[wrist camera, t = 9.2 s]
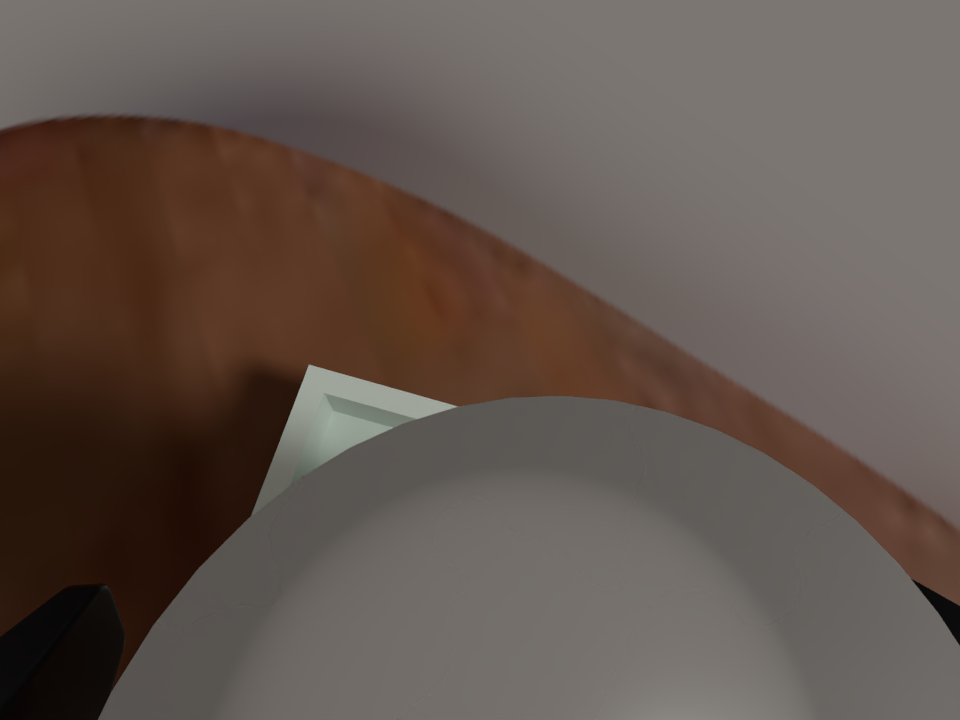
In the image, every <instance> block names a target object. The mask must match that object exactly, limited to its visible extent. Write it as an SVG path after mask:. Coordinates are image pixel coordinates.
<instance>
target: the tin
mask: <svg viewBox="0 0 960 720" xmlns="http://www.w3.org/2000/svg"><path fill="white" fill-rule="evenodd" d="M98 720H960V646H959V644H958V643H957V641H956V640H955V638H954V636H953V635H952V633H951V632H950V630H949V629H948V627H947V626H946V624H945V623H944V621H943V620H942V618H941V616H940V615H939V613H938V612H937V611H936V610H935V608H934V607H933V606H932V605H931V603H930V602H929V601H928V600H927V598H926V597H925V596H924V595H923V593H922V592H921V591H920V590H919V588H918V587H917V586H916V585H915V583H914V582H913V581H912V580H911V579H910V577H909V576H908V575H907V574H906V572H905V571H904V570H903V569H902V567H901V566H900V565H899V564H898V563H897V562H896V561H895V560H894V559H893V558H892V557H891V556H890V554H889V553H888V552H887V551H886V550H885V549H884V548H883V547H882V546H881V545H880V544H879V543H878V542H877V541H876V540H875V539H874V538H873V537H872V536H871V535H870V534H869V533H868V532H867V531H866V530H865V529H864V528H863V527H862V526H861V525H860V524H859V523H858V522H857V521H856V520H855V519H853V518H852V517H851V516H850V515H849V514H847V513H846V512H845V511H844V510H843V509H841V508H840V507H839V506H838V505H836V504H835V503H834V502H833V501H832V500H830V499H829V498H828V497H827V496H825V495H824V494H823V493H822V492H821V491H819V490H818V489H817V488H816V487H814V486H813V485H812V484H811V483H809V482H808V481H806V480H804V479H803V478H801V477H800V476H798V475H797V474H795V473H794V472H792V471H791V470H789V469H787V468H786V467H784V466H783V465H781V464H780V463H778V462H777V461H775V460H774V459H772V458H771V457H769V456H767V455H766V454H764V453H762V452H760V451H758V450H756V449H754V448H752V447H750V446H748V445H746V444H744V443H742V442H740V441H738V440H736V439H734V438H732V437H730V436H728V435H726V434H724V433H722V432H720V431H718V430H716V429H713V428H710V427H707V426H705V425H702V424H699V423H696V422H693V421H690V420H688V419H685V418H682V417H679V416H676V415H673V414H671V413H668V412H664V411H660V410H655V409H651V408H646V407H642V406H637V405H633V404H628V403H624V402H619V401H614V400H603V399H592V398H580V397H569V396H547V397H522V398H507V399H501V400H495V401H489V402H483V403H477V404H471V405H466V406H460V407H455V408H452V409H449V410H445V411H442V412H439V413H435V414H432V415H429V416H426V417H422V418H419V419H416V420H413V421H409V422H406V423H403V424H401V425H399V426H396V427H394V428H392V429H390V430H388V431H385V432H383V433H381V434H379V435H376V436H374V437H372V438H370V439H368V440H365V441H363V442H361V443H359V444H357V445H354V446H352V447H350V448H348V449H347V450H345V451H344V452H342V453H340V454H339V455H337V456H335V457H334V458H332V459H330V460H329V461H327V462H326V463H324V464H322V465H321V466H319V467H317V468H316V469H314V470H312V471H311V472H309V473H308V474H306V475H304V476H303V477H301V478H299V479H298V480H297V481H295V482H294V483H293V484H292V485H290V486H289V487H288V488H286V489H285V490H284V491H283V492H281V493H280V494H279V495H278V496H276V497H275V498H274V499H273V500H271V501H270V502H269V503H267V504H266V505H265V506H264V507H262V508H261V509H260V510H259V511H257V512H256V513H255V514H254V515H252V516H251V517H250V518H249V519H247V520H246V521H245V522H244V523H243V524H242V525H241V526H240V527H239V528H238V529H237V530H236V531H235V532H234V533H233V534H232V535H231V536H230V537H229V538H228V539H227V540H226V541H225V542H224V543H223V544H222V545H221V546H220V547H219V548H218V549H217V550H216V551H215V552H214V553H213V554H212V555H211V556H210V557H209V558H208V559H207V560H206V561H205V562H204V563H203V564H202V565H201V566H200V567H199V569H198V570H197V571H196V572H195V574H194V575H193V576H192V577H191V579H190V580H189V581H188V582H187V584H186V585H185V586H184V587H183V589H182V590H181V591H180V592H179V594H178V595H177V596H176V597H175V599H174V600H173V601H172V602H171V604H170V605H169V606H168V608H167V609H166V610H165V611H164V613H163V614H162V615H161V616H160V618H159V619H158V620H157V621H156V623H155V624H154V625H153V627H152V628H151V630H150V631H149V633H148V635H147V636H146V638H145V639H144V641H143V643H142V644H141V646H140V647H139V649H138V650H137V652H136V654H135V655H134V657H133V658H132V660H131V662H130V663H129V665H128V666H127V668H126V670H125V671H124V673H123V674H122V676H121V678H120V679H119V681H118V682H117V684H116V685H115V687H114V689H113V690H112V692H111V694H110V696H109V698H108V700H107V702H106V704H105V706H104V708H103V710H102V712H101V714H100V716H99V718H98Z"/></svg>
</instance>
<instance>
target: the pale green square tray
mask: <svg viewBox="0 0 960 720" xmlns="http://www.w3.org/2000/svg"><path fill="white" fill-rule="evenodd" d="M455 407H457V406H454V405H450V404H447V403H443V402H440V401H436V400H433V399H429V398H425V397H422V396H418V395H415V394H411V393H408V392H404V391H401V390H397V389H393V388H390V387H386V386H383V385H379V384H376V383H372V382H368V381H365V380H361V379H358V378H354V377H351V376H347V375H344V374H340V373H336V372H333V371H329V370H326V369H322V368H319V367H315V366H312V365H309V366H308V369H307V372H306V374H305V377H304V379H303V382H302V385H301V387H300V390H299V392H298V395H297V398H296V400H295V403H294V405H293V408H292V411H291V413H290V416H289V418H288V421H287V424H286V426H285V429H284V431H283V434H282V437H281V439H280V442H279V444H278V447H277V450H276V452H275V455H274V457H273V460H272V463H271V465H270V468H269V470H268V473H267V476H266V478H265V481H264V484H263V486H262V489H261V491H260V494H259V497H258V499H257V502H256V504H255V507H254V510H253V512H252V515H254V514H255V513H256V512H257V511H259V510H260V509H261V508H262V507H264V506H265V505H266V504H267V503H269V502H270V501H271V500H273V499H274V498H275V497H276V496H278V495H279V494H280V493H281V492H283V491H284V490H285V489H286V488H288V487H289V486H290V485H292V484H293V483H294V482H295V481H297V480H298V479H299V478H301V477H303V476H304V475H306V474H308V473H309V472H311V471H312V470H314V469H316V468H317V467H319V466H321V465H322V464H324V463H326V462H327V461H329V460H330V459H332V458H334V457H335V456H337V455H339V454H340V453H342V452H344V451H345V450H347V449H348V448H350V447H352V446H354V445H357V444H359V443H361V442H363V441H365V440H368V439H370V438H372V437H374V436H376V435H379V434H381V433H383V432H385V431H388V430H390V429H392V428H394V427H396V426H399V425H401V424H403V423H406V422H409V421H413V420H416V419H419V418H422V417H426V416H429V415H432V414H435V413H439V412H442V411H445V410H449V409H452V408H455ZM252 515H251V516H252Z"/></svg>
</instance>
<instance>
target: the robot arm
mask: <svg viewBox="0 0 960 720" xmlns="http://www.w3.org/2000/svg"><path fill="white" fill-rule="evenodd" d="M910 579H911V578H910ZM911 580H912V581H913V582H914V583H915V585H916V586H917V587H918V588H919V590H920V591H921V592H922V593H923V595H924V596H925V597H926V598H927V600H928V601H929V602H930V603H931V605H932V606H933V607H934V608H935V610H936V611H937V612H938V613H939V615H940V616H941V618H942V620H943V621H944V623H945V624H946V626H947V627H948V629H949V630H950V632H951V633H952V635H953V636H954V638H955V640H956V641H957V643H958V644H959V646H960V606H959V605H957V604H955V603H954V602H952V601H950V600H948V599H946V598H945V597H943V596H941V595H939V594H938V593H936V592H934V591H932V590H930V589H929V588H927V587H925V586H923V585H922V584H920V583H918V582H916V581H914V580H913V579H911ZM124 643H125V632H124V627H123V624H122V621H121V618H120V616H119V613H118V610H117V607H116V604H115V601H114V598H113V595H112V592H111V590H110V588H109V587H108V586H106V585H105V584H87V585H73V586H69V587H67V588H65V589H63V590H62V591H60V592H59V593H57V594H56V595H55V596H53V597H52V598H51V599H50V600H48V601H47V602H46V603H44V604H43V605H42V606H40V607H39V608H38V609H36V610H35V611H34V612H32V613H31V614H30V615H29V616H27V617H26V618H25V619H23V620H22V621H21V622H19V623H18V624H17V625H15V626H14V627H13V628H11V629H10V630H9V631H8V632H6V633H5V634H4V635H2V636H1V637H0V720H98V718H99V716H100V714H101V712H102V710H103V708H104V706H105V704H106V702H107V700H108V698H109V696H110V693H111V690H112V687H113V683H114V680H115V677H116V673H117V670H118V667H119V663H120V660H121V657H122V653H123V649H124Z"/></svg>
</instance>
